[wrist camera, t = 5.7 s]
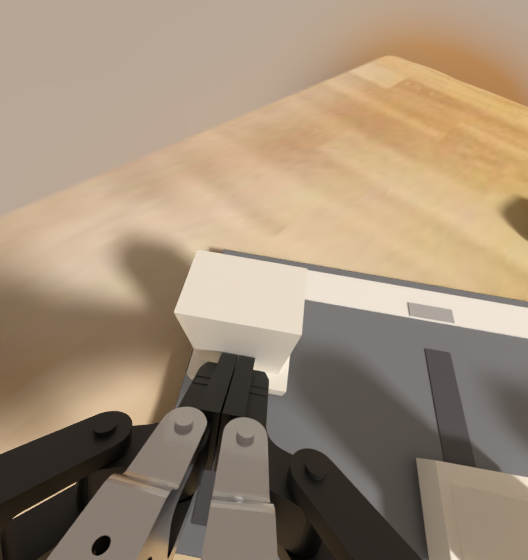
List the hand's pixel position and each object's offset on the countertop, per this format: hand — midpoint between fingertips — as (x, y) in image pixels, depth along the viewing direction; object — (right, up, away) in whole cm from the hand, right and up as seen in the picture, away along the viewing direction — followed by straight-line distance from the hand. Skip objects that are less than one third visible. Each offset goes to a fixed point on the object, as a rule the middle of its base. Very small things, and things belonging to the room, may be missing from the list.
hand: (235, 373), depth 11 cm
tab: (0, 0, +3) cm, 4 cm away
